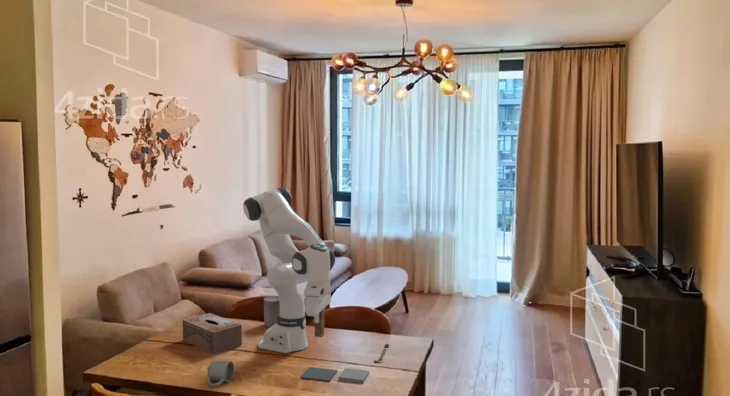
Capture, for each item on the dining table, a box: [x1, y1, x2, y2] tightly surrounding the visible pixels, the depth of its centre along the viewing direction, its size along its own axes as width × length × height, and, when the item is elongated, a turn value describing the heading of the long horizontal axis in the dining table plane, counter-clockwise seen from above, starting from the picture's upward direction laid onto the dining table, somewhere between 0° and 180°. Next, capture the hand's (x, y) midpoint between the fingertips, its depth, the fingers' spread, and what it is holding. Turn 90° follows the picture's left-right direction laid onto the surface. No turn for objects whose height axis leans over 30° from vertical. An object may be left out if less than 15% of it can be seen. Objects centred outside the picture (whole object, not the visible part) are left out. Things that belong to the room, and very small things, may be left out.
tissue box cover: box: [181, 312, 243, 355], centre depth 260 cm, size 26×14×10 cm, turn 48°
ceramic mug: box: [207, 360, 235, 388], centre depth 219 cm, size 11×8×8 cm
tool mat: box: [300, 366, 338, 383], centre depth 226 cm, size 12×10×1 cm
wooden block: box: [314, 309, 325, 338], centre depth 224 cm, size 3×3×14 cm
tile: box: [337, 367, 370, 384], centre depth 224 cm, size 10×2×9 cm
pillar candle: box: [263, 295, 280, 329], centre depth 286 cm, size 10×10×15 cm
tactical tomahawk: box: [373, 343, 390, 364], centre depth 248 cm, size 21×7×1 cm, turn 166°
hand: (319, 320), depth 224 cm, fingers closed on wooden block, 3 cm apart
